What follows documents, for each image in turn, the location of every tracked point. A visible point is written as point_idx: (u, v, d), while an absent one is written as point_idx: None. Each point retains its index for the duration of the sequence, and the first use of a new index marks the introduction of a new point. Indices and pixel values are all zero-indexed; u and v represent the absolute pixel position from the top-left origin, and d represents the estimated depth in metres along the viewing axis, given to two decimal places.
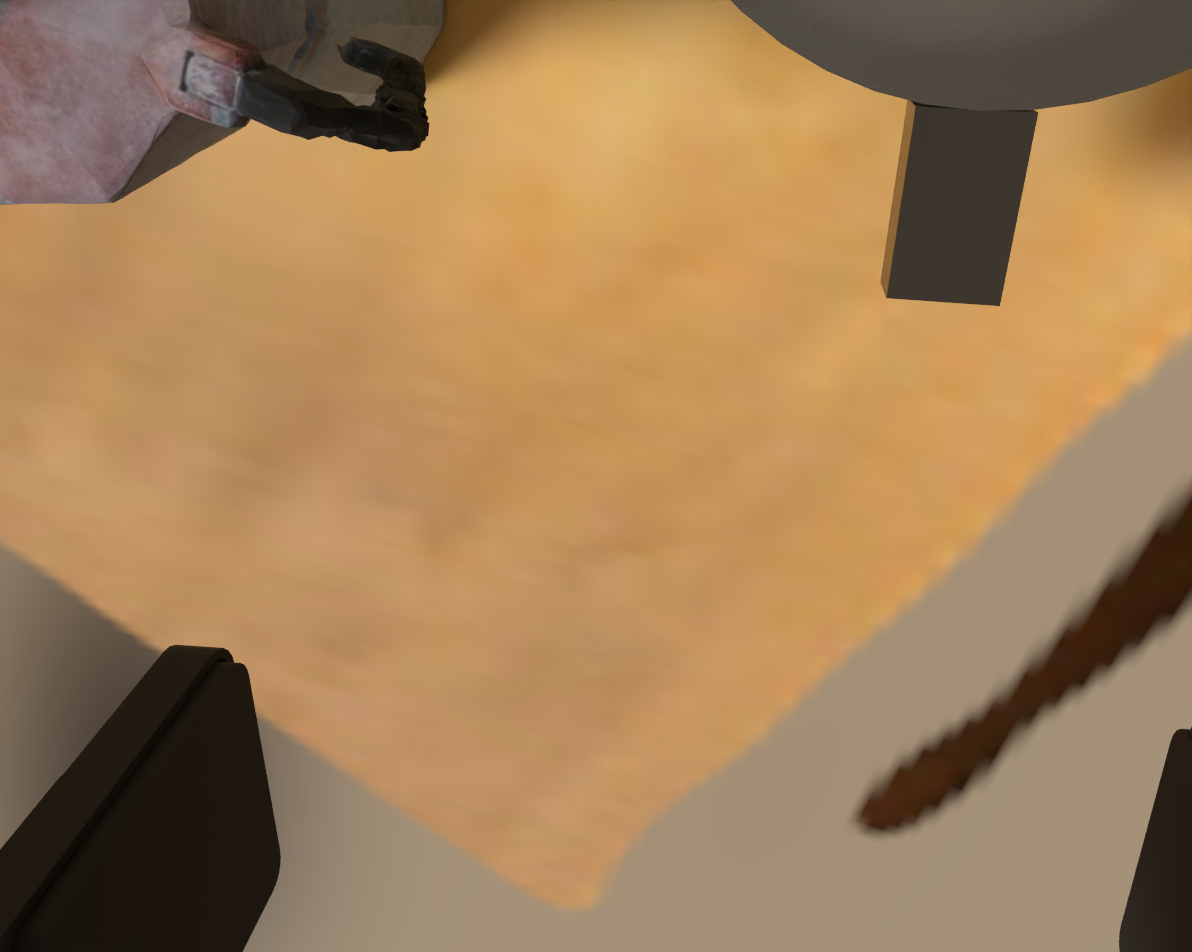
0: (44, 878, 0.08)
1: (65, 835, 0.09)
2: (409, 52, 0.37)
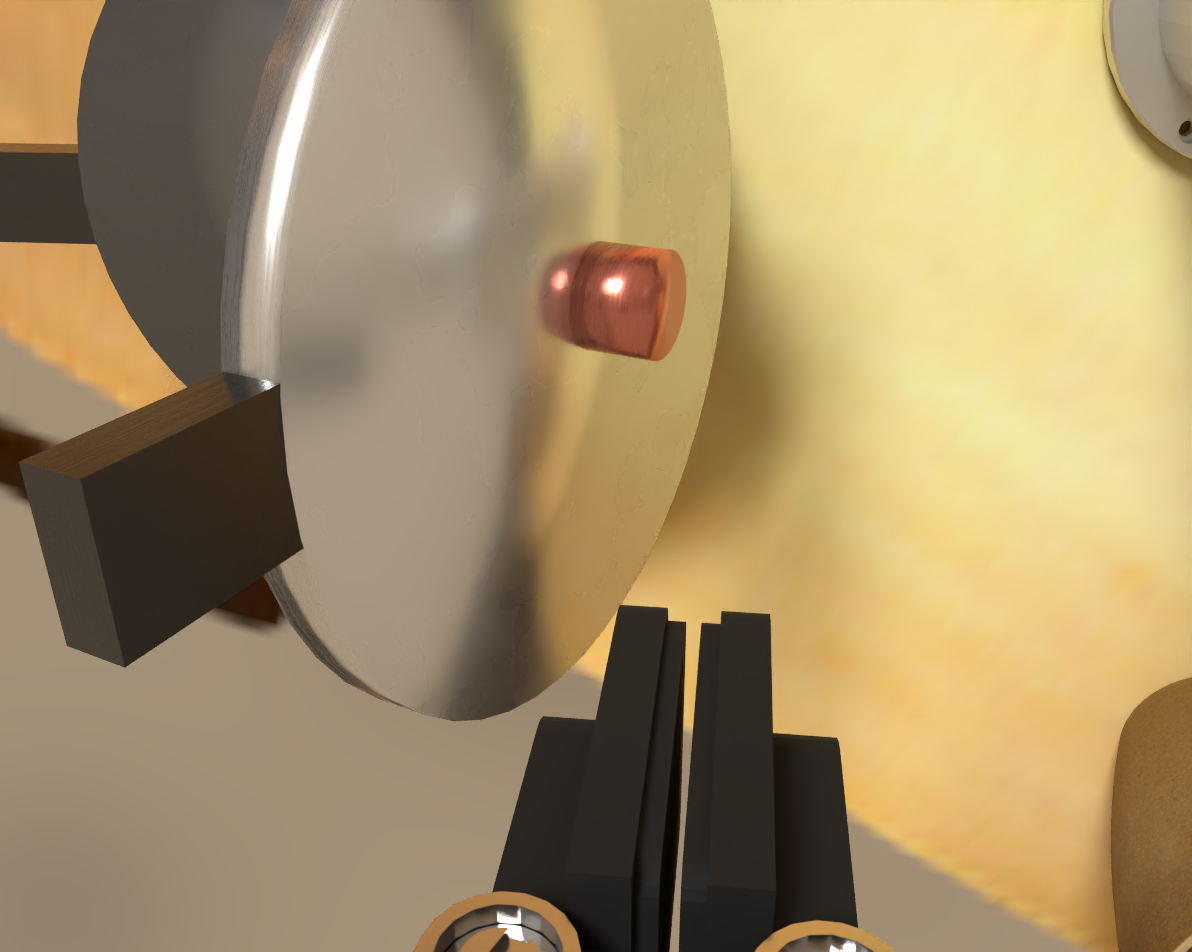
0: (640, 809, 0.09)
1: (632, 773, 0.09)
2: None
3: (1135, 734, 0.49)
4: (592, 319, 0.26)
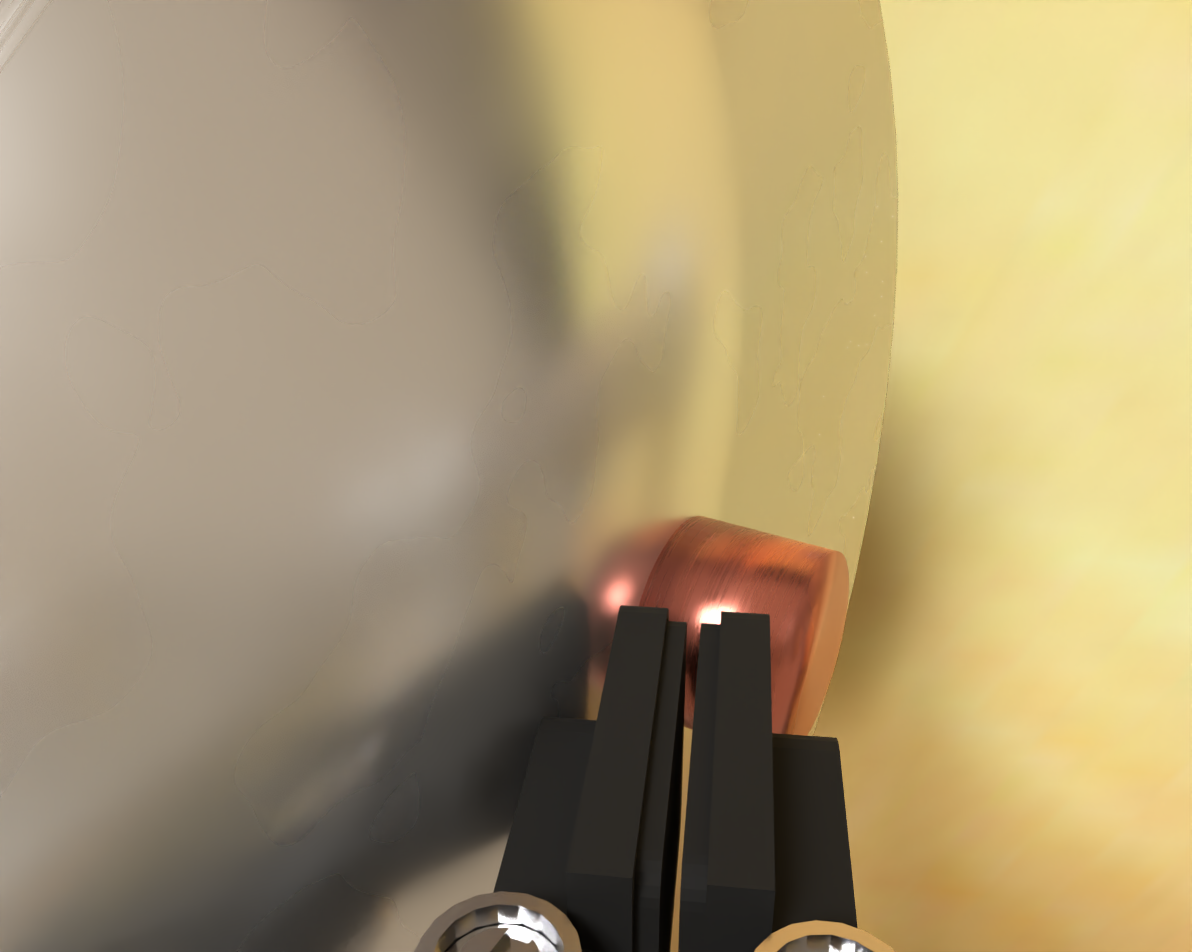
0: (640, 811, 0.09)
1: (633, 773, 0.09)
2: None
3: None
4: None
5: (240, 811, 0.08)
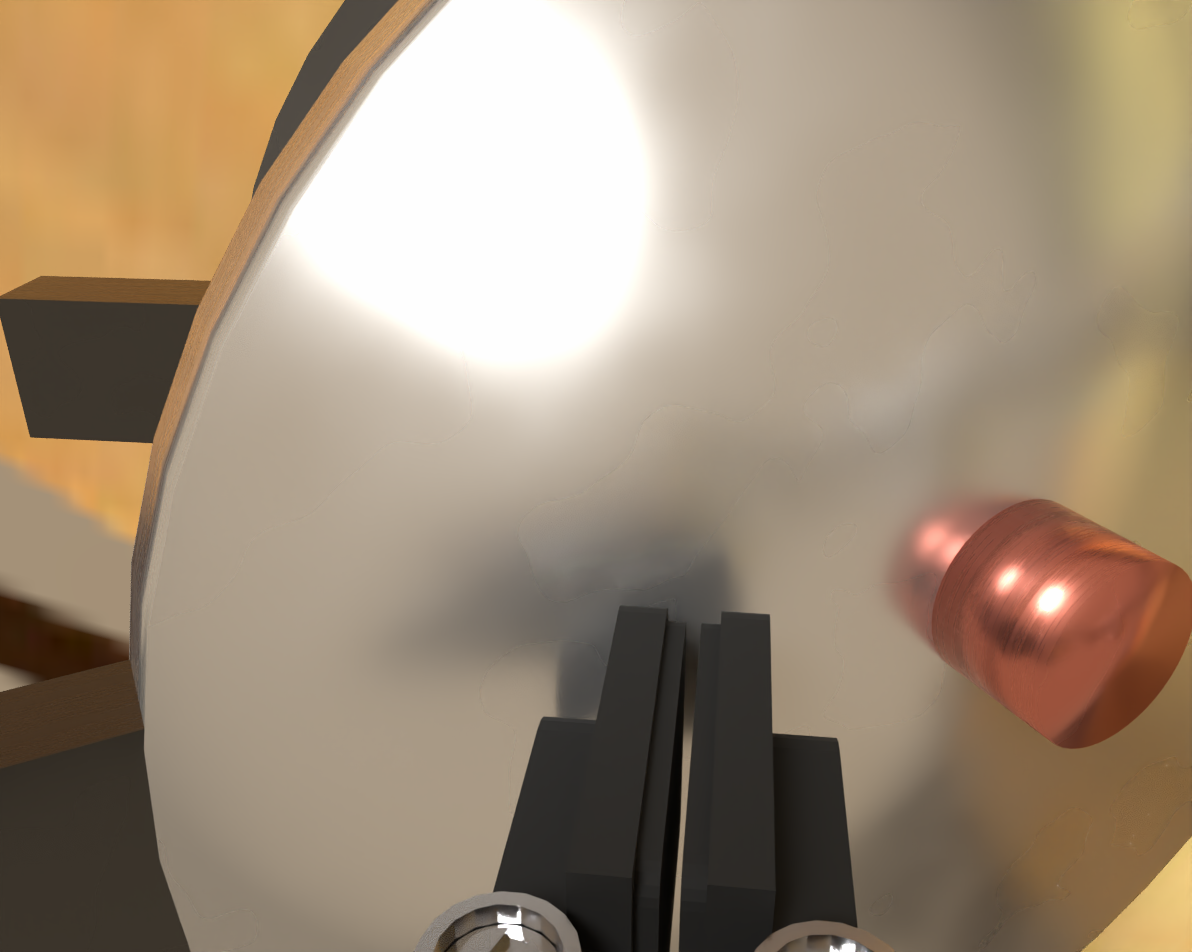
0: (640, 811, 0.09)
1: (632, 773, 0.09)
2: None
3: None
4: (964, 642, 0.14)
5: (518, 557, 0.11)
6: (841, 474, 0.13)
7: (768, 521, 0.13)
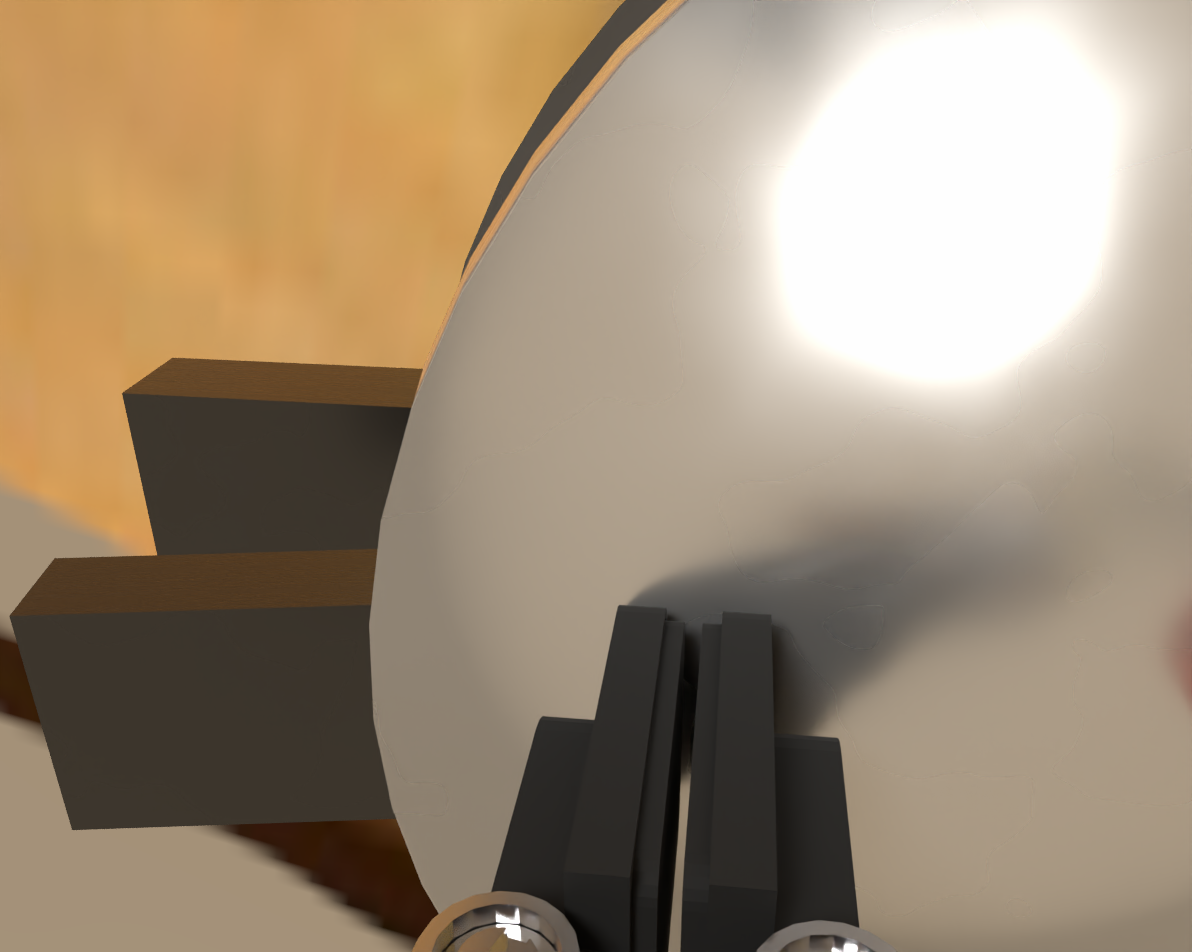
0: (638, 809, 0.09)
1: (630, 773, 0.09)
2: None
3: None
4: None
5: (718, 528, 0.12)
6: (1097, 515, 0.12)
7: (1000, 548, 0.12)
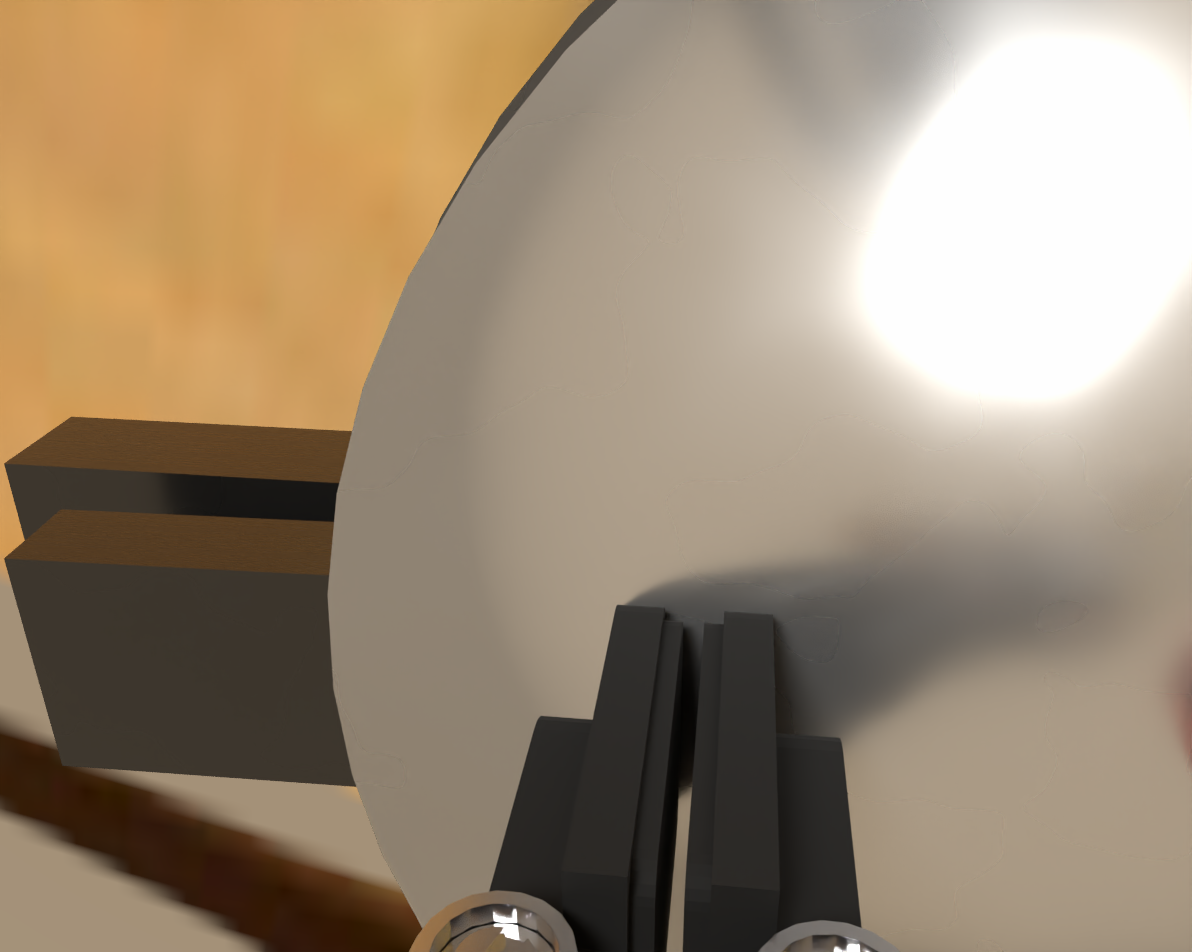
0: (637, 809, 0.09)
1: (628, 772, 0.09)
2: None
3: None
4: None
5: (666, 526, 0.12)
6: (1068, 542, 0.11)
7: (963, 569, 0.11)
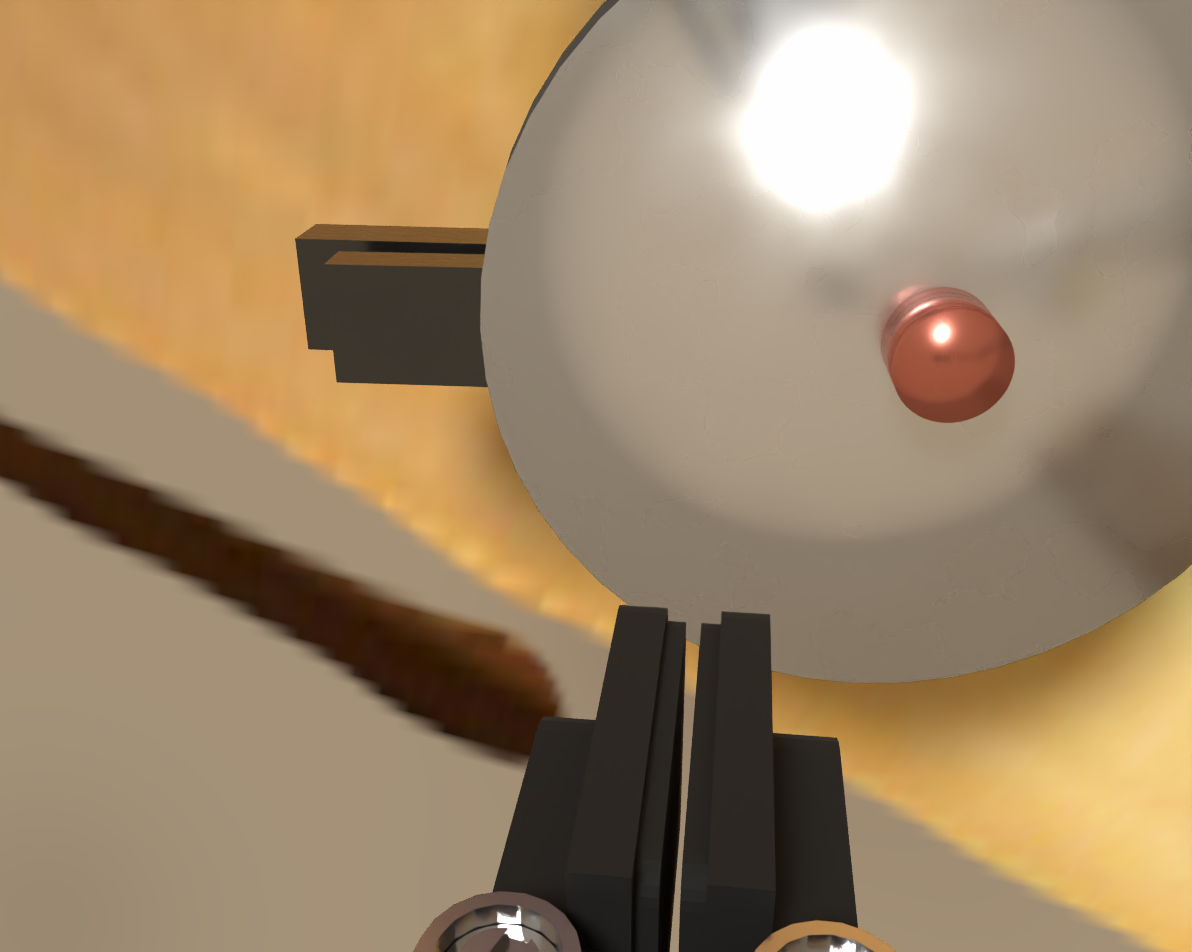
0: (639, 811, 0.09)
1: (632, 773, 0.09)
2: None
3: None
4: (885, 353, 0.26)
5: (639, 236, 0.26)
6: (815, 238, 0.25)
7: (771, 253, 0.26)
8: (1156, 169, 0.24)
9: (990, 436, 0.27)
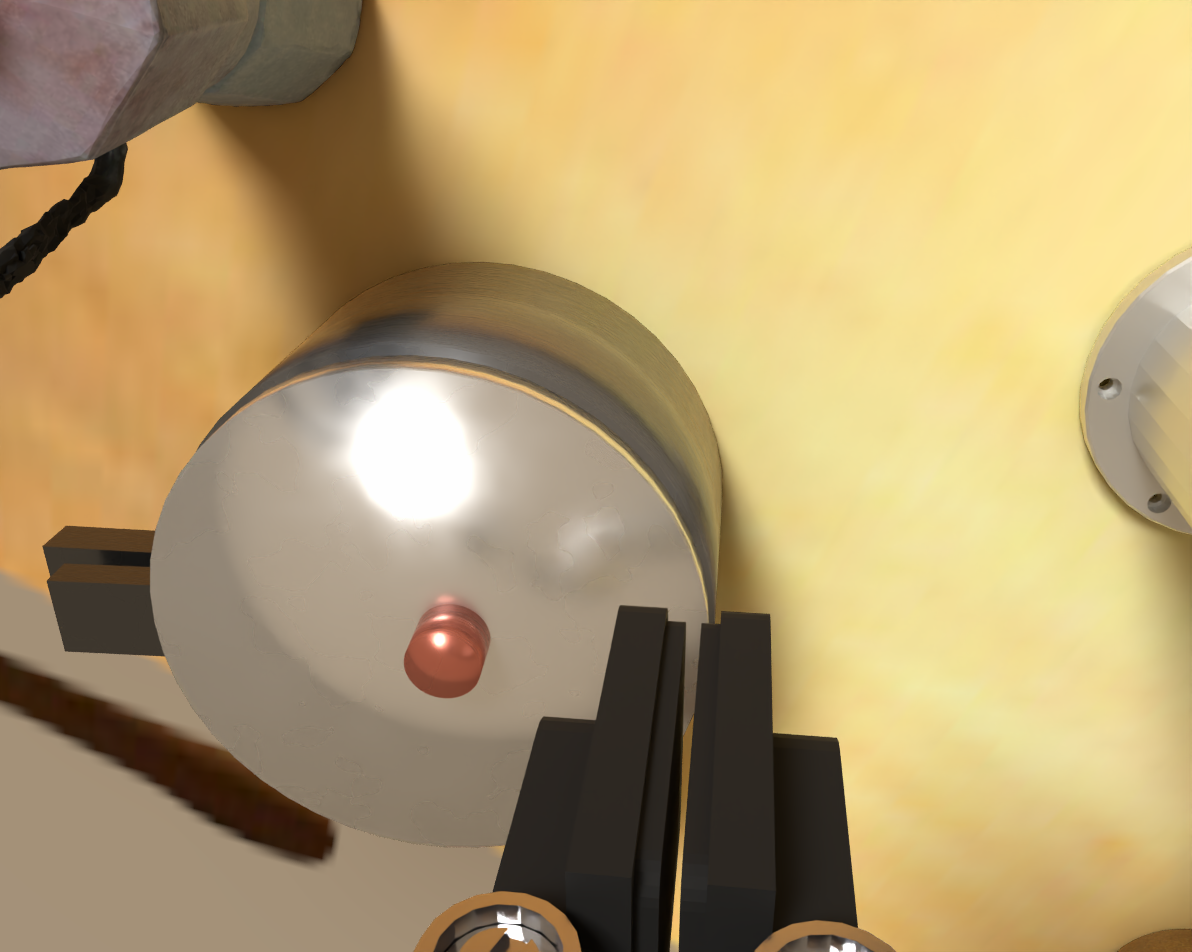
0: (640, 811, 0.09)
1: (632, 773, 0.09)
2: None
3: None
4: None
5: (248, 569, 0.38)
6: (361, 573, 0.38)
7: (335, 581, 0.38)
8: (568, 539, 0.37)
9: (501, 693, 0.40)
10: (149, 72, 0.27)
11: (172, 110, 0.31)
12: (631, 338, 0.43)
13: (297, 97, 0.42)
